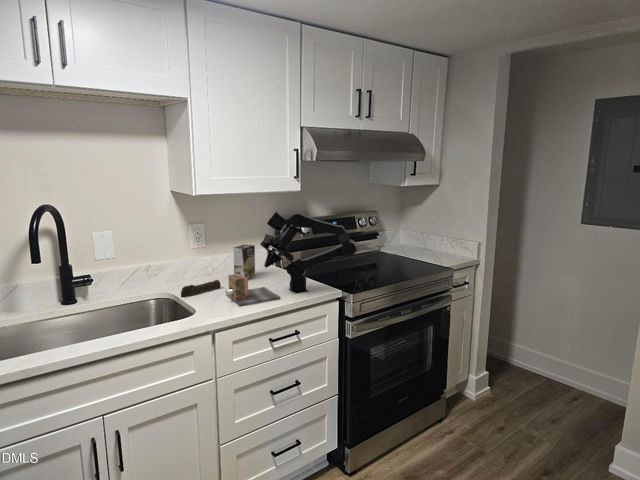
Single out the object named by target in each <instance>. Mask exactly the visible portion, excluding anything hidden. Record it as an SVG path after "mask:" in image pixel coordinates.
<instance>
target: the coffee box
mask: <svg viewBox="0 0 640 480" xmlns="http://www.w3.org/2000/svg"><path fill="white" fill-rule="evenodd" d="M255 247H256V246H255V244H254V245H252V244H242V245H238V246H234V247H233V275H234V274H238V275H240V276H245V277H247V278H248V279H249V280H251V279H253V278H255V277H256V248H255Z"/></svg>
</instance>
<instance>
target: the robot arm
mask: <svg viewBox="0 0 640 480" xmlns="http://www.w3.org/2000/svg"><path fill="white" fill-rule="evenodd" d="M266 225H268V226H269V227H270V228H272V229H273V230H275V231H276V232H278V231H280V232H281V233H280V234H274V235H272V234H271V235H270V234H267V233H265V234H264V238H263V240H262V241H261V242H260V243H259V245H260V246H261V247H262V248H264V249H265V250H266V254H267V255H266V259H265V262H264V268H266V269H267V268H269V267H270V266H272V265H273V264H275V263H277V262H279V261H282V260H283V261H284V258H286V261H288V262H289V263H288V264H287V266H286V273H287V274H288V275H289V276H290V281H289V288H288V290H289V291H291V292H292V293H294V294H300V293H305V292H307V293H308V292H309V290H308V289H307V276H305V275H306V273H307V269H308V268H311V267H313V266H317V265H320V264H322V263H324V262H325V263H326V262H327V261H331V260H333V259H336V258H341V257H343V258H344V257H349V256H350V257H351V256H353V255H354V254H356V252H357V243H356V241H354V240H353V239H351V237H350V235H349V234H348V232H347V231H346V229H345V227H344V226H343V225H338V224H336V223H335V224H334V223H330V222H328V221H325V220H319V219H316V218H313V217H312V216H310V215H308V214H305V213H304V212H299V211H298V212H295V213H294V214H293V215H292V216H290V217H289V216H288V217H287V218H286V217H284V215H281V214H280V213H279V212H278V211H275V212H274V214H273V215H272V216H271V217H270V218H269V220H268V221H267V223H266ZM302 228H303V229H304V228H305V229H308V228H309V229H314V230H317V231H320V232H321V231H322V232H324V233H330V234H333V235H335V236H337V238H338V240H339V242H340V244H338V245H337V246H336V247H333V248H330V249H328V250H326V251H322V252H319V253H317V254H315V255H311V256H309V257H307V258H302V255H299V256H297V257H295V256H294V254H293V253H291V252H290V251H289V250H287V249H288V247H289V246H290V247H291V246H292V245H293V244H292V241H293V240H294V238H295V237H296V235H297V234H298V235H299V236H302V235H303V232H302ZM283 257H284V258H283ZM294 257H295V258H294Z"/></svg>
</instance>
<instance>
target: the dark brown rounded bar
mask: <svg viewBox="0 0 640 480" xmlns="http://www.w3.org/2000/svg"><path fill="white" fill-rule="evenodd" d="M215 289H221V281H220V280H218V279H215V280H213V281H208V282H205V283H201V284H196V285H193V284H190V285H185V286H183V287H182V289H181V291H180V297H181V298H187V297H192V296H195V294H198V293H202V292H206V291H211V290H215Z"/></svg>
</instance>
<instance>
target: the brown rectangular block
mask: <svg viewBox="0 0 640 480" xmlns="http://www.w3.org/2000/svg"><path fill="white" fill-rule="evenodd" d="M241 277H243V278H244V279H245V297H248V290H249V280H248V278H247V277H245V276H241ZM230 294H234V291H233V289H230V290H229V289H226V290H225V296H226V295H230Z"/></svg>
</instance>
